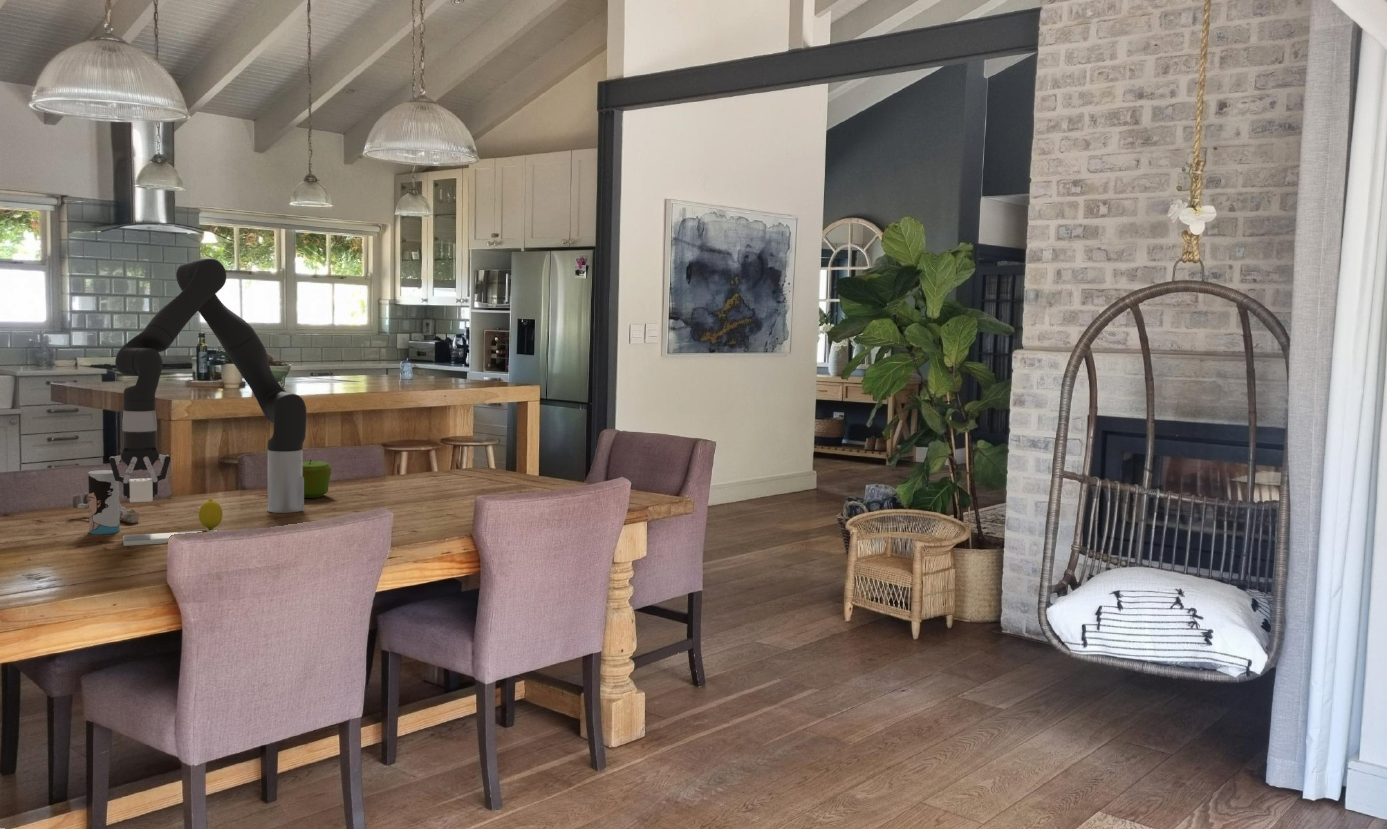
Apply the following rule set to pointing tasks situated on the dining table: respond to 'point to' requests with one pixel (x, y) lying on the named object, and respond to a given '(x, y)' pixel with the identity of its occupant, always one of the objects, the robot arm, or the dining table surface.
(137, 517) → the figurine
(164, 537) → the board
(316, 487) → the apple
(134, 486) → the off-white cube
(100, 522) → the cup
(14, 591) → the dining table surface
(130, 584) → the dining table surface
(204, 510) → the lemon
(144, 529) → the dining table surface
